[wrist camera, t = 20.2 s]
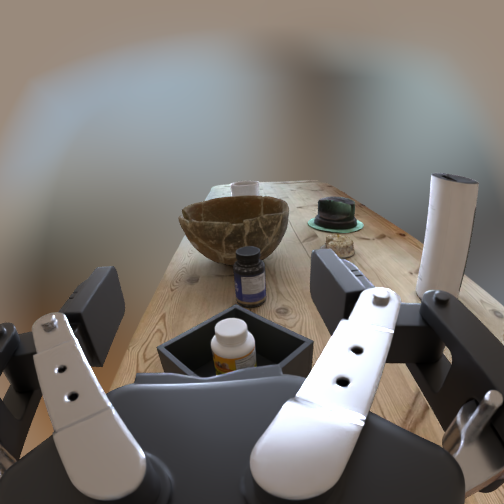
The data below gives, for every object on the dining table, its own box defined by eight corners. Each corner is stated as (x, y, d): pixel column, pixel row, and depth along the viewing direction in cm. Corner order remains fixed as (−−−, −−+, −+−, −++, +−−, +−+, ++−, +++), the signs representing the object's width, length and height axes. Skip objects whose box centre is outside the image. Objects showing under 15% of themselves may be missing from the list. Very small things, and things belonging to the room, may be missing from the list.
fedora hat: (367, 216, 109) (364, 234, 93) (326, 234, 119) (315, 255, 102) (349, 181, 107) (343, 193, 90) (308, 201, 117) (294, 216, 100)
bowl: (178, 290, 68) (167, 227, 62) (191, 247, 92) (185, 199, 87) (299, 280, 69) (299, 216, 63) (281, 239, 93) (280, 191, 88)
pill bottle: (237, 293, 65) (232, 245, 61) (265, 292, 65) (263, 243, 60) (235, 309, 59) (230, 257, 55) (266, 308, 59) (264, 256, 55)
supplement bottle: (212, 378, 41) (201, 322, 37) (245, 365, 44) (240, 309, 40) (229, 403, 37) (219, 346, 33) (265, 387, 39) (262, 330, 35)
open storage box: (236, 444, 31) (229, 408, 28) (168, 384, 40) (156, 347, 38) (310, 380, 40) (313, 340, 37) (239, 341, 50) (235, 303, 47)
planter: (247, 212, 126) (245, 186, 122) (226, 208, 134) (224, 184, 129) (266, 206, 134) (264, 181, 130) (245, 203, 142) (243, 180, 138)
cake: (349, 246, 87) (352, 229, 85) (358, 260, 78) (361, 241, 76) (317, 244, 87) (319, 226, 85) (322, 258, 78) (324, 239, 76)
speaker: (456, 312, 50) (481, 183, 40) (411, 301, 56) (429, 174, 46) (457, 288, 58) (476, 176, 48) (418, 280, 64) (431, 168, 54)
